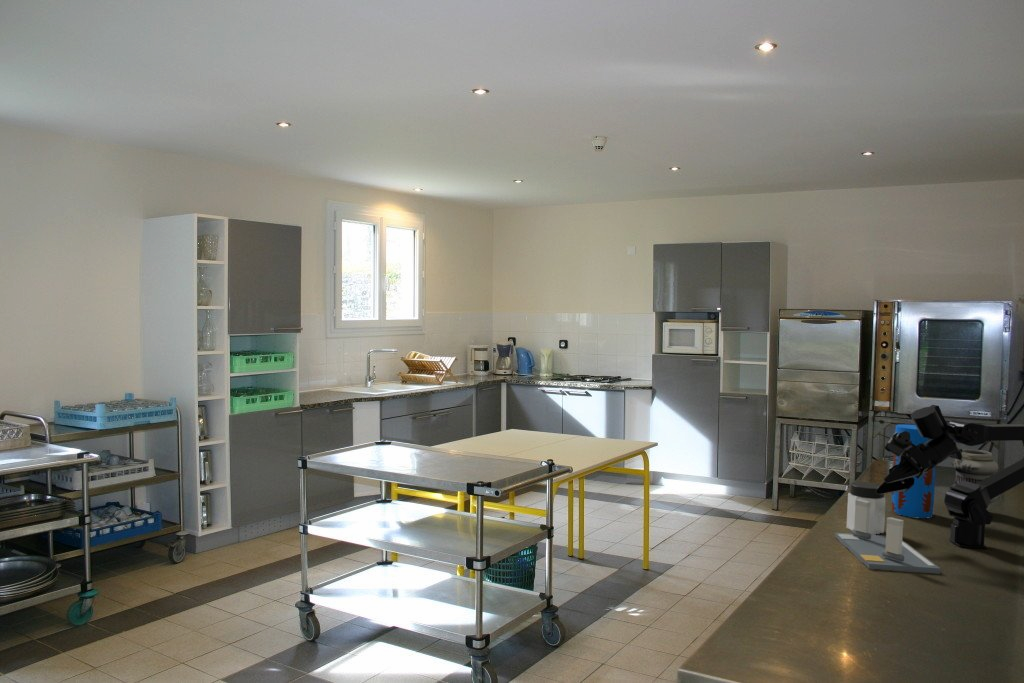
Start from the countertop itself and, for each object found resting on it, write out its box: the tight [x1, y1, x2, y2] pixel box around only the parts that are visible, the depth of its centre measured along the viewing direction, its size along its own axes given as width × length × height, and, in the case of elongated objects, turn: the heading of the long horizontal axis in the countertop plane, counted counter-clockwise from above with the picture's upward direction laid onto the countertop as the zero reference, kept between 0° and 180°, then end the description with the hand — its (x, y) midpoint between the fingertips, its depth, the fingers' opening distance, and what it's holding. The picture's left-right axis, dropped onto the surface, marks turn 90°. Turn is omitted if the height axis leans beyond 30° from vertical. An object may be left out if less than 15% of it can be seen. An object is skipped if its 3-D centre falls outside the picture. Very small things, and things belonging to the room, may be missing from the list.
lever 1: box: [851, 499, 871, 539], centre depth 194 cm, size 2×4×9 cm, turn 34°
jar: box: [846, 481, 887, 535], centre depth 206 cm, size 9×8×12 cm
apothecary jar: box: [949, 448, 999, 514], centre depth 229 cm, size 12×12×18 cm
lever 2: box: [882, 516, 905, 562], centre depth 177 cm, size 2×4×9 cm, turn 34°
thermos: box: [891, 424, 937, 519], centre depth 225 cm, size 11×11×25 cm
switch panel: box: [834, 532, 941, 575], centre depth 185 cm, size 15×25×1 cm, turn 174°
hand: (880, 487), depth 192 cm, fingers open, 9 cm apart
